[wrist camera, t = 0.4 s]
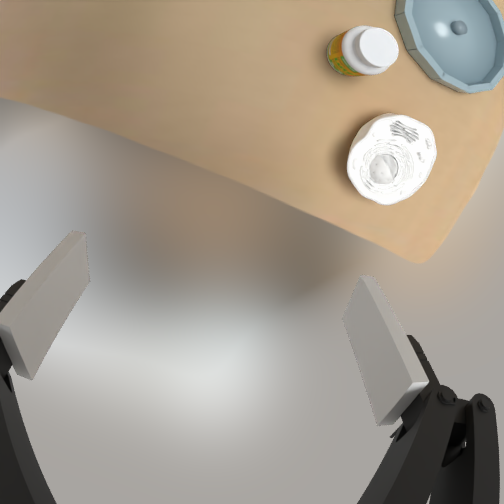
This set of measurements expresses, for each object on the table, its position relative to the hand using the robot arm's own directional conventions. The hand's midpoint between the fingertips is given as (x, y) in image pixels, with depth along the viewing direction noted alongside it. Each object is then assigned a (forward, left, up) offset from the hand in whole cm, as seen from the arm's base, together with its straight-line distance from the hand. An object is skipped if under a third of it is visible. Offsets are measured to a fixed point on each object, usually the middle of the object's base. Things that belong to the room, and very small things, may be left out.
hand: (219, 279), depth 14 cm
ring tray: (-25, +25, -26) cm, 44 cm away
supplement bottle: (-15, +11, -26) cm, 32 cm away
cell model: (-5, +18, -26) cm, 32 cm away
